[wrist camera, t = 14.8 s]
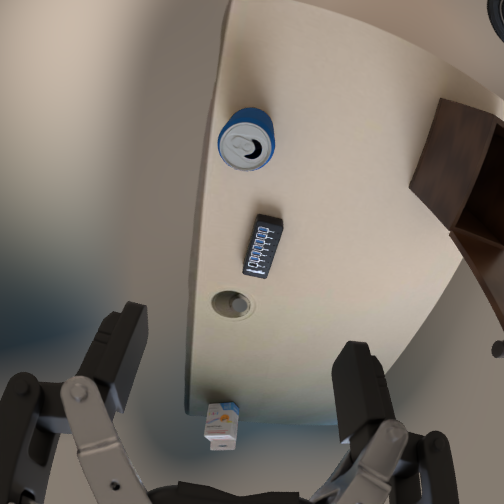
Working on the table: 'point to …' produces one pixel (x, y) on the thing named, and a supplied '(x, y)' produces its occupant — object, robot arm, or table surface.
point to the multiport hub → (262, 246)
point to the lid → (486, 275)
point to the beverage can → (247, 140)
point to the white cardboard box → (222, 425)
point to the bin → (464, 172)
